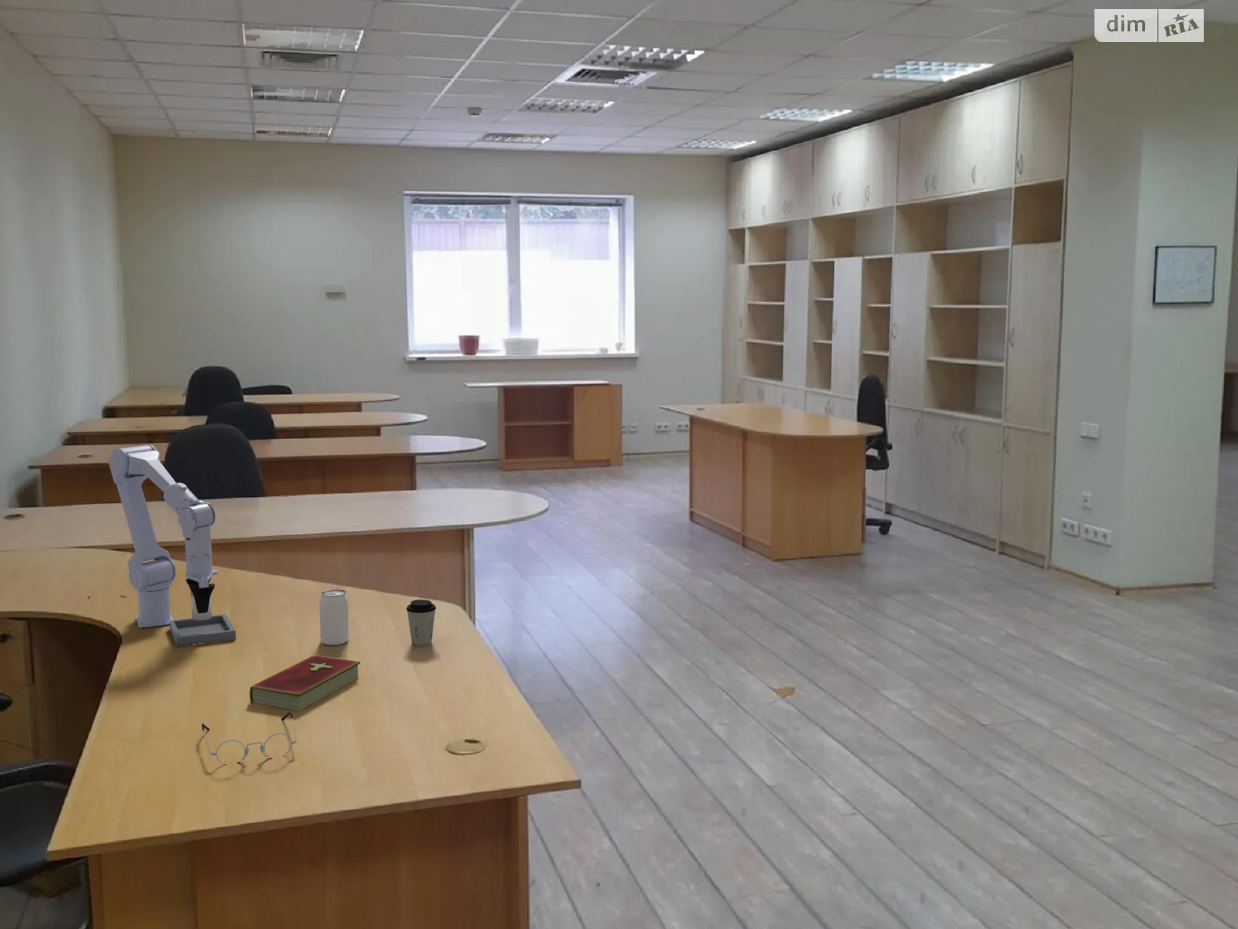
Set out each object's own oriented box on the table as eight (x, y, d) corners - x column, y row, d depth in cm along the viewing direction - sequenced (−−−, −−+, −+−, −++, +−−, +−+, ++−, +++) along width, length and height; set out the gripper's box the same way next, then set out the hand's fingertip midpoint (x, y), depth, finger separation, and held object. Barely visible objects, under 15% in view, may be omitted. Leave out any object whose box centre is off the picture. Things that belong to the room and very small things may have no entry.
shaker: (189, 616, 259) (188, 588, 258) (210, 614, 261) (208, 586, 260) (193, 621, 255) (192, 593, 254) (214, 619, 258) (212, 590, 256)
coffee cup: (442, 643, 255) (442, 602, 254) (418, 650, 250) (417, 608, 248) (424, 636, 260) (424, 596, 258) (400, 643, 255) (400, 602, 253)
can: (341, 647, 251) (340, 597, 249) (315, 645, 253) (314, 595, 251) (353, 638, 258) (352, 590, 256) (328, 636, 259) (327, 588, 257)
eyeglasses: (206, 772, 186) (205, 745, 185) (201, 732, 203) (199, 707, 202) (302, 758, 192) (301, 731, 192) (289, 720, 209) (288, 695, 208)
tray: (169, 629, 262) (169, 620, 262) (225, 622, 268) (225, 614, 268) (176, 647, 249) (176, 638, 249) (235, 639, 255) (235, 630, 255)
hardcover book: (249, 704, 217) (249, 684, 216) (313, 671, 236) (313, 653, 236) (299, 713, 213) (299, 693, 212) (360, 679, 232) (360, 660, 231)
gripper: (221, 559, 251) (223, 615, 253) (212, 546, 264) (214, 600, 266) (188, 562, 248) (191, 619, 250) (181, 549, 261) (183, 603, 263)
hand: (201, 610), depth 258 cm, fingers closed on shaker, 4 cm apart
